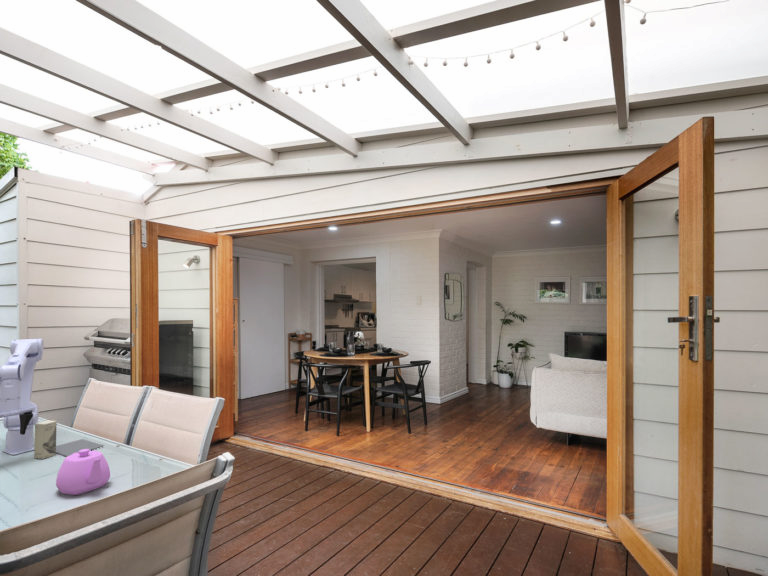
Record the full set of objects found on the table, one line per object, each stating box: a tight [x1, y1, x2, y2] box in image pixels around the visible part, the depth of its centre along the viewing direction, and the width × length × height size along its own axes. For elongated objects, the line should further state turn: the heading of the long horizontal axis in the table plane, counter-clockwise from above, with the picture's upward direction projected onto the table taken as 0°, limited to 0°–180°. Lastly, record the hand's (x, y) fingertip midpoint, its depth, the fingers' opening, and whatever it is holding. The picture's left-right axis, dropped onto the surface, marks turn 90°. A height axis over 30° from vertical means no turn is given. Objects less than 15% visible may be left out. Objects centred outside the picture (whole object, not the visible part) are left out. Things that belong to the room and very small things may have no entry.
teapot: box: [55, 449, 111, 496], centre depth 131 cm, size 20×13×12 cm, turn 56°
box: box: [33, 419, 58, 460], centre depth 159 cm, size 5×4×13 cm
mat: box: [56, 438, 105, 458], centre depth 168 cm, size 17×13×1 cm
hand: (9, 437), depth 151 cm, fingers open, 7 cm apart
